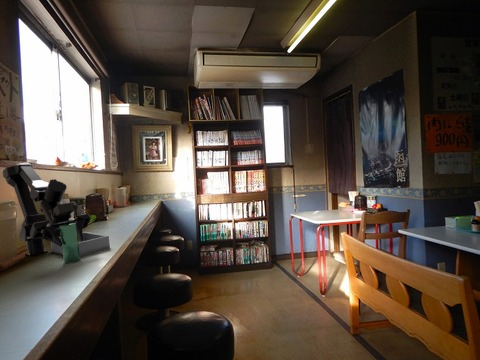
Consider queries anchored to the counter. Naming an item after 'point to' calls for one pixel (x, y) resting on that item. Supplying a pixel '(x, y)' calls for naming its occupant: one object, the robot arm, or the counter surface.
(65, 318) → the counter surface
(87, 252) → the grey tote
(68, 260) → the green tall cylinder
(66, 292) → the counter surface
